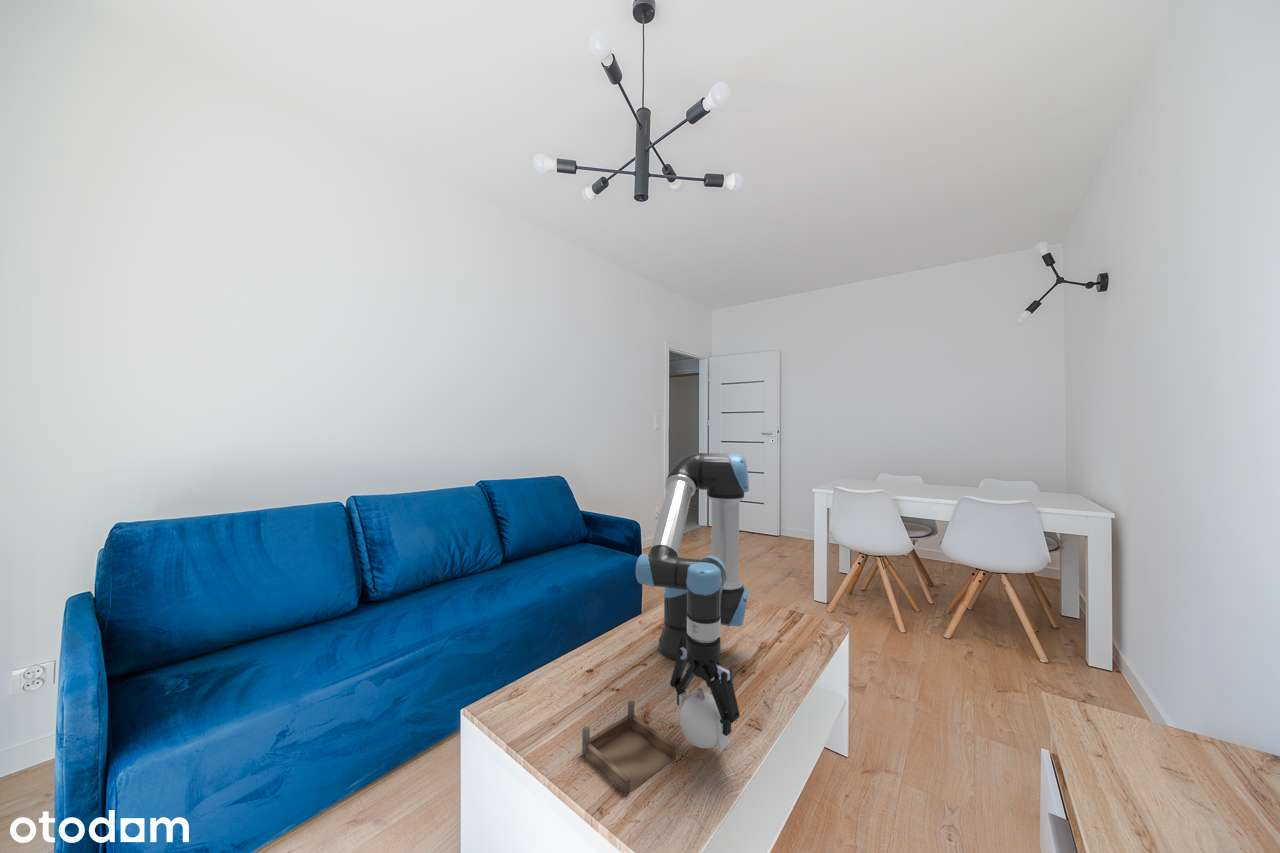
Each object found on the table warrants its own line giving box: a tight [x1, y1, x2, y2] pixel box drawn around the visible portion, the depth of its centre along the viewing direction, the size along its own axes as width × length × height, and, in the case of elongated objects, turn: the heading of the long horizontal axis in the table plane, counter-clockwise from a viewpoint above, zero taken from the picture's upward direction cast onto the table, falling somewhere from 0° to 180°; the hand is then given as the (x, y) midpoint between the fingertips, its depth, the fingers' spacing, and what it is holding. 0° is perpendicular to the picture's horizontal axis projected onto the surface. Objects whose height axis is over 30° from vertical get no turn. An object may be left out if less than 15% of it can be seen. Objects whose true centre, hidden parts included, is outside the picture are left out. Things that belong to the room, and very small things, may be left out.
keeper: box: [581, 700, 677, 796], centre depth 95 cm, size 15×15×6 cm
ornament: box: [679, 687, 721, 749], centre depth 97 cm, size 10×10×12 cm
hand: (702, 733), depth 97 cm, fingers closed on ornament, 10 cm apart
